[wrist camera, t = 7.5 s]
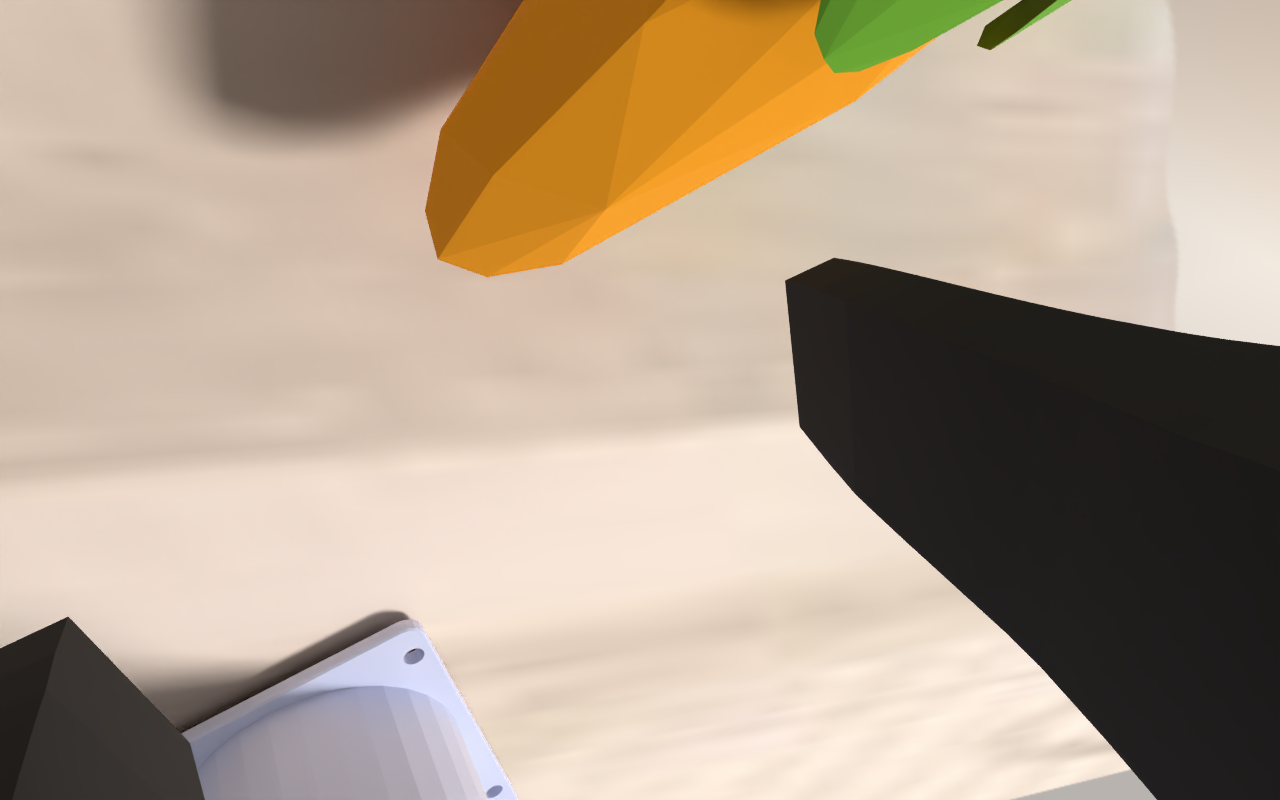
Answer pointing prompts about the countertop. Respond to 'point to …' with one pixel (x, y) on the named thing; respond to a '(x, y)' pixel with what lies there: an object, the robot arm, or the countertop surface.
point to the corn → (653, 108)
